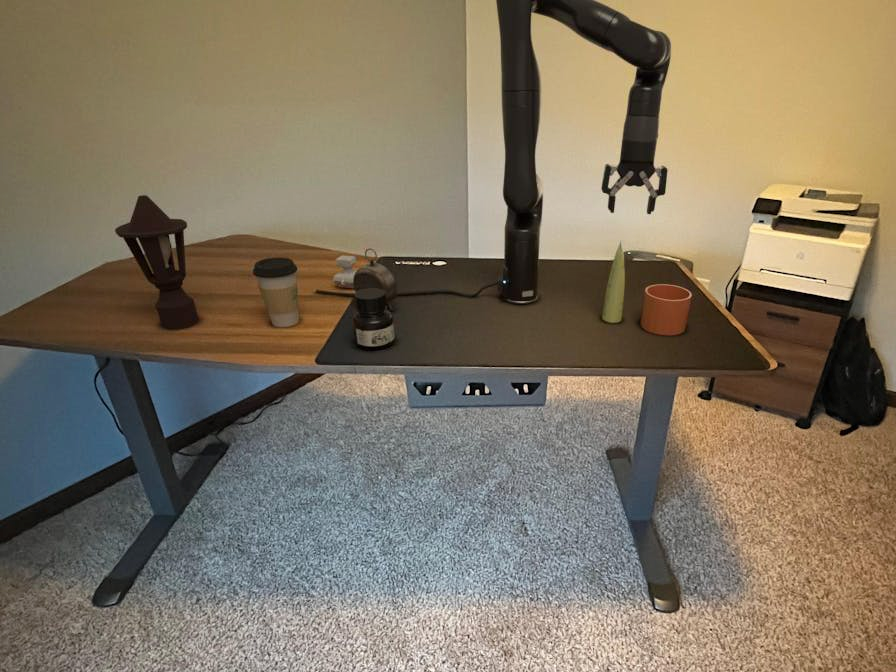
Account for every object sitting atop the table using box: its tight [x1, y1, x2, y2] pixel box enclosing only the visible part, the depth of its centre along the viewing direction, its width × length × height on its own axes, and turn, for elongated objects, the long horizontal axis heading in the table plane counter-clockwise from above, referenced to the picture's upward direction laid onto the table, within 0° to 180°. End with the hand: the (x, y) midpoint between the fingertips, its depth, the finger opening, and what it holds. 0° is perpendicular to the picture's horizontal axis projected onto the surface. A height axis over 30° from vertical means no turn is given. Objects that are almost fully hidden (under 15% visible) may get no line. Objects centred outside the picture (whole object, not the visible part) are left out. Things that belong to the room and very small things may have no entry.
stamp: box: [332, 254, 358, 289], centre depth 160 cm, size 9×7×8 cm
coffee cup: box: [252, 256, 300, 328], centre depth 136 cm, size 10×10×15 cm
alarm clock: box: [353, 247, 398, 312], centre depth 143 cm, size 11×5×16 cm, turn 65°
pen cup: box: [639, 283, 693, 336], centre depth 140 cm, size 11×11×9 cm
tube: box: [601, 240, 626, 324], centre depth 140 cm, size 6×5×20 cm
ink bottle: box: [352, 288, 395, 351], centre depth 128 cm, size 10×9×12 cm
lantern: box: [114, 194, 200, 330], centre depth 131 cm, size 15×15×30 cm
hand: (630, 212), depth 132 cm, fingers open, 8 cm apart
